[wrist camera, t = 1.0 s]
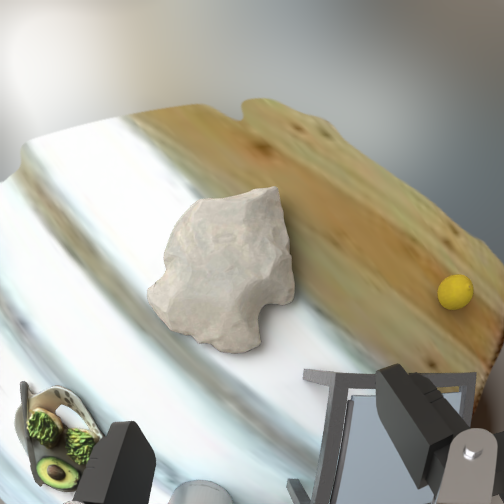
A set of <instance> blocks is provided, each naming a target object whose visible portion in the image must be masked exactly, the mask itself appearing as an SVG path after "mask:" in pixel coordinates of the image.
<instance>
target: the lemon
mask: <svg viewBox="0 0 504 504" xmlns="http://www.w3.org/2000/svg"><path fill="white" fill-rule="evenodd" d="M473 291H474V290H473V284H472V282H471V281H470V279H469V278H468V277H466V276H464V275H460V274H457V275H452V276H449V277H447V278H446V279H444V280H443V282H442V283H441V284H440V286H439V288H438V300H439V302H440V304H441V305H442V306H443V307H444V308H446V309H449V310H457V309H460V308H462V307H464V306H466V305H467V304H468V303H469V302H470V300H471V299H472V296H473Z"/></svg>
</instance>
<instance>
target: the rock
mask: <svg viewBox="0 0 504 504" xmlns="http://www.w3.org/2000/svg"><path fill="white" fill-rule="evenodd" d="M289 249H290V240H289V237H288V234H287V230H286V226H285V222H284V218H283V209H282V207H281V202H280V196H279V191H278V188H277V187H276V186H274V187H270V188H262V189H253V190H251V191H250V192H248V193H243V194H240V195H236V196H231V197H226V198H220V199H212V198H207V199H199V200H198V201H197V202H195V203H194V204H192V205H191V207H190V208H189V209H188V210H187V211H186V212H185V213H184V214H183V215H182V216H181V218H180V219H179V220H178V221H177V223H176V224H175V226H174V229H173V231H172V233H171V235H170V238H169V240H168V243H167V246H166V249H165V252H164V263H165V267H166V271H165V273H164V275H163V276H162V277H161V279H159V280H158V281H156V282H155V284H154V285H152V286H151V287H150V288H148V290H147V299H148V302H149V304H150V305H151V306H152V308H153V310H154V311H155V312H156V313H157V315H158V316H159V317H160V318H161V320H162V321H163V322H164V323H165V324H166V325H167V326H168V327H169V329H170V330H171V331H174V332H177V333H181V334H184V335H192V337H193V338H194V339H195V340H196V341H197V342H198V343H199V344H201V343H208V344H211V345H213V346H214V347H215V348H216V349H217V350H219V351H220V352H227V353H234V354H236V353H244V352H247V351H249V350H251V349H253V348H255V347H257V346H259V345H260V343H261V339H260V335H259V326H258V316H259V313H260V311H261V309H262V307H263V306H264V305H267V304H279V305H286V304H289V303H291V302H292V301H293V299H294V292H295V282H294V276H293V272H292V256H291V255H290V254H289ZM244 279H245V280H244Z"/></svg>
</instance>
